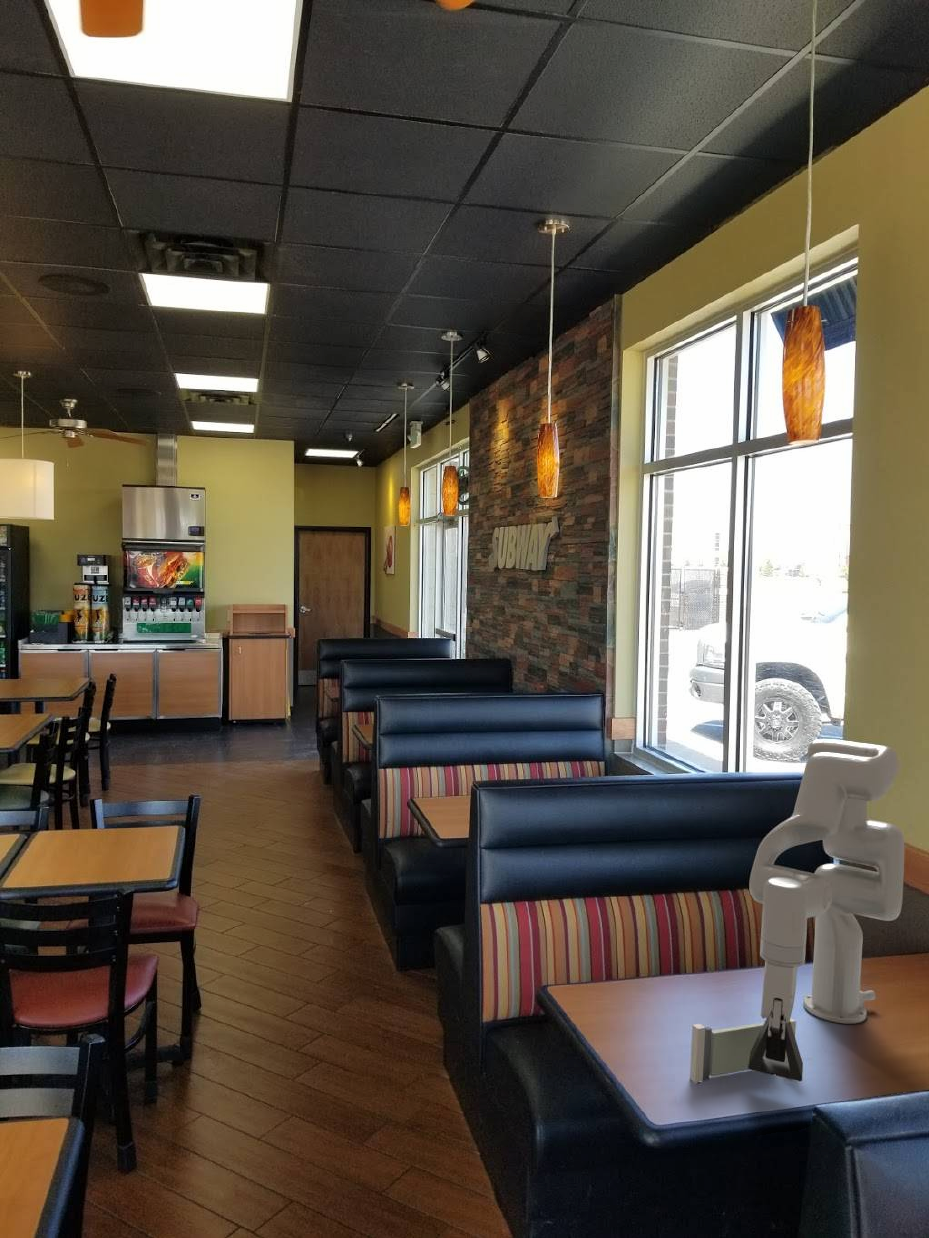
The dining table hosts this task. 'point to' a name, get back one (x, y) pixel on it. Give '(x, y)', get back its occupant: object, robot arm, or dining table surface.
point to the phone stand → (782, 1069)
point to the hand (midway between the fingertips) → (776, 1050)
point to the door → (729, 1049)
